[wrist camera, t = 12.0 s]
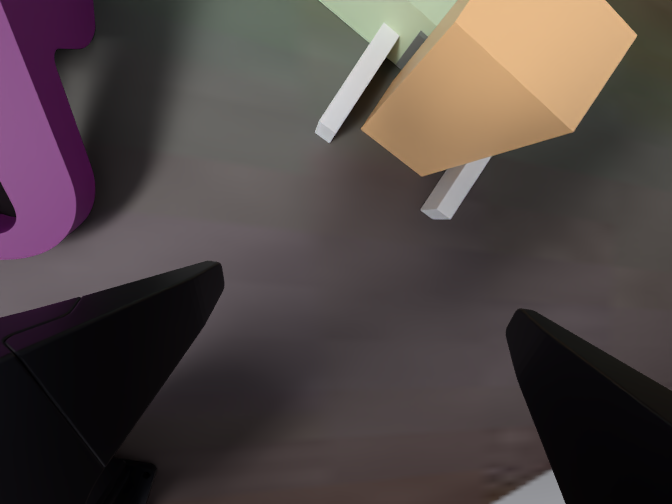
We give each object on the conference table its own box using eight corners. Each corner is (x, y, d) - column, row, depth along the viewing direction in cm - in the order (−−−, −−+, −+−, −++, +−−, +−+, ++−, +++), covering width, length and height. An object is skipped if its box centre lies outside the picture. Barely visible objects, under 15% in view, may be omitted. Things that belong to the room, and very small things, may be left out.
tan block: (421, 176, 22) (573, 131, 11) (360, 129, 21) (455, 21, 10) (452, 130, 23) (637, 35, 11) (392, 80, 21) (526, -86, 10)
